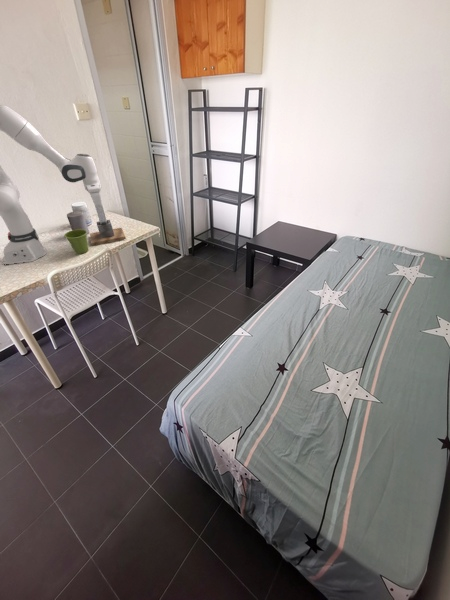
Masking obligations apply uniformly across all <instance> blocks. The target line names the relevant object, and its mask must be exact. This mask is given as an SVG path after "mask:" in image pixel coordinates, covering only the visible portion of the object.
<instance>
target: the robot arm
mask: <svg viewBox="0 0 450 600" xmlns="http://www.w3.org/2000/svg"><path fill="white" fill-rule="evenodd" d="M0 131H1V132H3V133H5V134H6V135H8V137H10V138H11V139H12V140H14V142H16V143H17V144H19V145H20V146H22V147H23V148H25V149H27V150H29V151H33V152H36V153H38V154H40V155H42V156H44V158H46V159H48V160H49V161H50V162H51V163H52V164H53V165H55V166H56V167H57V168H58V170H59V172H60V174H61V176H62V177H63V179H64V180H66V181H67V182H69V183H78V182H80V181H82V182H83V183H82V184H83V186H84V190H85V191H87V192H88V194H89V195H90V197H91V199H92V202H93V204H94V207H95V206H97V208H98V211H102V210H101V206H103V201H102V196H101V189H102V184H101V181H100V177H99V175H98V170H97V166H96V164H95V160H94V159H93V157H92V156H91V155H89V154H86V153H77V154H76V155H75V157H73V158H72V159H69V158H67V157H64V156H63V155H62V154H61V153H59V151H57V150H56V149H55V148H53V147H52V146H51V145H50V144H49V143H48V142H47V141H46V140H45V138H44V137H43V135H41V133H40V132H39V131H38V130H37V129H36V128H35V126H34V125H33V124H32V123H30V122H29V121H28V120H27V119H26V118H24V117H23V116H22V115H20V113H18V112H16V111H15V110H14V109H12V108H11V107H9V106H7V105H4V104H1V105H0ZM20 197H21V195H20V191H19V189H18V187H17V186H16V185H15V184H14V182H13V180H12V179H11V178H10V177H9V176H8V174H7V173H6V171H5V170H4V169H3V168H2V166H1V165H0V217H1V219H2V220H3V222H4V223H5V225H6V227H7V229H8V233H7V239H8V241H9V242H7V244H6V245H5V247H4V248H3V257H2V258H1V263H2V264H3V265H4V264H5V265H4V266H7V265H6V264H9V265H15V264H14V263H17V264H24V263H23V262H25V263H30V262H35V261H36V260H37V259H39V258H42V257H43V256H45V255H46V254H47V253H48V251H47V249H46V248H45V246H44V245H43V243H42V242H41V241H40V239H39V236H38V233H37V231H36V229H35V228H34V227H33V225H32V223H31V220H30V217H29V216H28V214H27V213H26V212H25V210H24V208H23V207H22V205H21V203H20Z"/></svg>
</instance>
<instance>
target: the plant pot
mask: <svg viewBox="0 0 450 600" xmlns="http://www.w3.org/2000/svg"><path fill="white" fill-rule="evenodd" d="M63 237H65V238H66V240H67V241H68V242H69V244H70V246H71V247H72V249H73V252H74V253H75V254H77V255H82V254H86V253H87V252H89V246H88V245H89V243H88V238H87V237H88V234H87V231H86V230H82V229H78V230H72V229H71V230H70V231H67V232H66V233H64V236H63Z"/></svg>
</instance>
